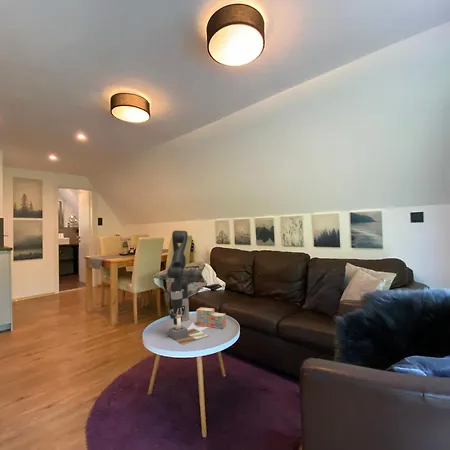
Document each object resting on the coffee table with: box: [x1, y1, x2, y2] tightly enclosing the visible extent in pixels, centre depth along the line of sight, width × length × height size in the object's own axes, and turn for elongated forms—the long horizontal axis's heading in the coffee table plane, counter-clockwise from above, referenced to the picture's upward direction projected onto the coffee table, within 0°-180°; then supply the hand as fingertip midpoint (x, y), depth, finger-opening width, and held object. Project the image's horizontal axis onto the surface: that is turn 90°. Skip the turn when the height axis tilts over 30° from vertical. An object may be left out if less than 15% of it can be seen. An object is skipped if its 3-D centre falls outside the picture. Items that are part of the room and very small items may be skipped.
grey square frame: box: [168, 325, 189, 341], centre depth 185 cm, size 9×9×5 cm
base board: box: [167, 327, 210, 346], centre depth 185 cm, size 20×20×2 cm
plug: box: [174, 314, 182, 331], centre depth 185 cm, size 4×4×12 cm
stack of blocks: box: [196, 307, 227, 330], centre depth 206 cm, size 21×6×12 cm, turn 64°
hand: (177, 323), depth 185 cm, fingers closed on plug, 4 cm apart
